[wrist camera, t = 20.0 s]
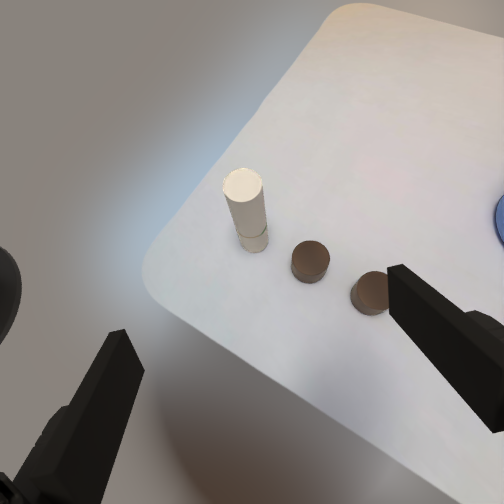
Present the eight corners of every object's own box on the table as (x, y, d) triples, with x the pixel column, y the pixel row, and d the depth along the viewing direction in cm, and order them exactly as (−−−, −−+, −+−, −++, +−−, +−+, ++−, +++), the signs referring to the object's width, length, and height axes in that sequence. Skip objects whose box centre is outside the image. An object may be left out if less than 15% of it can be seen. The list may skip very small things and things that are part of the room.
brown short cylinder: (360, 320, 41) (368, 315, 37) (344, 286, 43) (350, 278, 39) (394, 307, 41) (405, 301, 37) (377, 274, 43) (386, 265, 39)
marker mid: (299, 288, 43) (300, 280, 39) (286, 257, 45) (286, 247, 41) (331, 276, 43) (336, 267, 40) (317, 246, 45) (320, 235, 41)
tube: (248, 257, 46) (233, 208, 32) (236, 235, 47) (216, 179, 33) (273, 244, 46) (269, 190, 32) (260, 222, 47) (250, 162, 34)
